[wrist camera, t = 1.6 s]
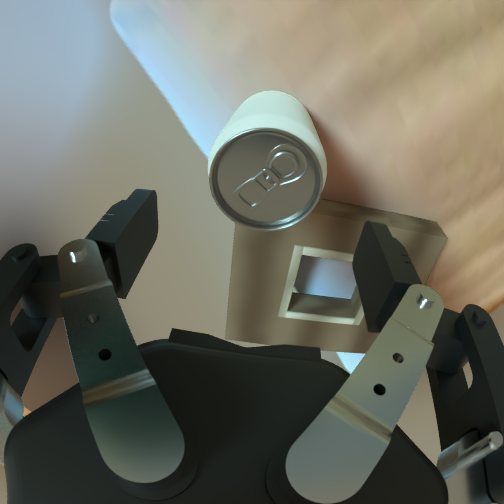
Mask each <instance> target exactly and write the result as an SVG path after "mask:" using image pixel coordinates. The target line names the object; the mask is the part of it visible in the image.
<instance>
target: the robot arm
mask: <svg viewBox="0 0 504 504" xmlns="http://www.w3.org/2000/svg"><path fill="white" fill-rule="evenodd" d="M157 234H158V211H157V195H156V192H155V190H145V189H136V190H135V191H134V192H133V193H132V194H131V195H130V196H129V197H128V199H127V200H121V201H120V202H118V203H116V204H114V205H113V206H112V207H111V208H110V209H109V210H108V211H107V212H106V215H104V216H103V217H102V218H101V221H99V222H98V223H97V224H96V225H95V227H94V228H93V229H92V230H91V231H90V233H89V234H88V235H87V237H86V238H85V239H76V240H73V241H70V242H68V243H66V244H65V245H64V246H63V247H61V248H60V250H59V252H58V254H57V255H49V256H39V253H38V250H37V248H36V246H35V245H33V244H29V243H25V244H20V245H17V246H15V247H13V248H11V249H10V250H9V251H8V252H7V253H6V254H5V255H4V256H3V257H2V259H1V260H0V464H1V465H3V466H4V468H5V474H6V482H7V504H504V345H503V343H502V341H501V339H500V336H499V334H498V331H497V329H496V327H495V325H494V322H493V320H492V318H491V317H490V315H489V314H488V313H487V312H486V311H485V310H484V309H483V308H481V307H479V306H477V305H474V304H468V305H466V306H465V308H464V309H463V310H462V312H461V313H457V312H454V311H452V310H449V309H446V308H444V303H443V300H442V298H441V297H440V296H439V294H438V293H437V292H436V291H434V290H433V289H431V288H430V287H428V286H425V285H423V284H422V282H421V280H420V278H419V276H418V274H417V272H416V269H415V267H414V265H413V264H412V261H411V259H410V257H408V256H409V255H408V253H407V251H406V249H405V247H404V246H403V245H402V244H401V243H400V242H399V241H398V240H397V239H396V238H393V237H392V235H391V233H390V231H389V229H388V227H387V225H386V224H384V223H379V222H374V221H366V223H365V224H364V227H363V230H362V233H361V236H360V238H359V241H358V244H357V247H356V250H355V253H354V256H353V271H354V275H355V279H356V283H357V287H358V291H359V295H360V299H361V303H362V307H363V311H364V316H365V320H366V324H367V329H368V332H371V333H380V334H379V335H378V337H377V338H376V340H375V341H374V343H373V344H372V346H371V347H370V349H369V350H368V351H367V353H366V354H365V356H364V357H363V359H362V360H361V361H360V363H359V364H358V366H357V367H356V368H355V370H354V371H353V372H352V374H351V375H350V374H349V373H348V372H347V371H345V370H344V369H342V368H341V367H339V366H337V365H335V364H333V363H331V362H329V361H326V360H324V359H321V352H320V347H308V346H298V345H288V344H281V345H271V346H261V347H248V348H247V347H242V346H239V345H236V344H233V343H231V342H228V341H225V340H222V339H219V338H217V337H214V336H211V335H209V334H204V333H197V332H192V331H186V330H180V329H174V328H172V330H171V333H170V336H169V339H160V340H154V341H150V342H146V343H143V344H140V345H138V346H137V345H136V342H135V340H134V338H133V335H132V333H131V331H130V328H129V326H128V323H127V321H126V319H125V316H124V314H123V311H122V309H121V306H120V303H119V301H118V298H122V299H126V297H127V295H128V292H129V291H130V289H131V287H132V285H133V283H134V281H135V279H136V277H137V275H138V273H139V271H140V269H141V267H142V265H143V264H144V262H145V260H146V258H147V256H148V254H149V252H150V250H151V249H152V247H153V245H154V243H155V241H156V238H157ZM18 301H20V303H21V306H22V309H21V310H20V312H19V314H18V315H17V317H16V319H15V320H14V322H13V324H12V326H11V325H10V317H11V313H12V311H13V310H14V308H15V306H16V304H17V303H18ZM58 317H63V318H64V323H65V328H66V333H67V337H68V342H69V346H70V350H71V355H72V358H73V362H74V366H75V370H76V373H77V377H78V381H79V383H77V384H76V385H74V386H72V387H71V388H69V389H68V390H66V391H65V392H63V393H62V394H60V395H58V396H57V397H55V398H54V399H52V400H50V401H49V402H48V403H46V404H44V405H42V406H41V407H39V408H38V409H36V410H35V411H33V412H31V413H30V414H28V415H26V416H25V417H24V416H23V412H24V405H23V401H22V398H21V396H22V393H23V391H24V389H25V386H26V384H27V382H28V379H29V377H30V374H31V372H32V370H33V368H34V366H35V363H36V361H37V359H38V357H39V354H40V352H41V350H42V348H43V346H44V344H45V342H46V340H47V338H48V336H49V334H50V332H51V330H52V328H53V326H54V324H55V322H56V320H57V318H58ZM468 361H469V364H470V367H471V370H472V374H473V381H472V385H471V387H470V388H469V389H468V385H467V382H466V378H465V375H464V371H463V367H464V365H465V364H466V363H467V362H468ZM425 366H426V369H427V373H428V378H429V382H430V387H431V392H432V397H433V402H434V407H435V413H436V419H437V424H438V431H439V438H440V445H441V454H440V455H439V457H438V460H437V467H436V466H435V465H434V464H433V463H432V462H431V461H430V460H429V459H428V458H427V457H426V455H425V454H424V453H423V452H422V451H421V450H420V449H419V448H418V447H417V446H416V445H415V444H414V442H413V441H412V440H411V439H410V438H409V437H408V436H407V435H406V434H405V433H404V432H403V431H402V430H401V428H400V427H399V426H398V425H397V422H398V421H399V419H400V417H401V415H402V413H403V411H404V409H405V407H406V405H407V404H408V402H409V399H410V397H411V396H412V394H413V391H414V390H415V387H416V385H417V383H418V381H419V379H420V377H421V375H422V372H423V370H424V368H425Z"/></svg>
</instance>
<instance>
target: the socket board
mask: <svg viewBox="0 0 504 504" xmlns="http://www.w3.org/2000/svg"><path fill="white" fill-rule="evenodd" d="M366 221H374V222H379V223H384V224H386V225H387V227H388V229H389V231H390V233H391V235H392V237H393V238H396V239H397V240H398V241H399V242H400V243H401V244H402V245H403V246H404V247H405V249H406V251H407V253H408V255H409V256H408V257H410V259H411V261H412V264H413V265H414V267H415V269H416V272H417V274H418V276H419V278H420V280H421V282H422V284H423V285H424V284H425V283H426V281H427V279H428V277H429V275H430V273H431V271H432V269H433V267H434V265H435V263H436V261H437V259H438V257H439V255H440V253H441V251H442V249H443V247H444V245H445V243H446V241H447V239H448V238H447V237H446V235H445V234H444V232H443V231H442V229H441V228H440V226H439V225H438V224H437V222H434V221H430V220H425V219H421V218H416V217H412V216H407V215H402V214H397V213H393V212H388V211H383V210H378V209H372V208H367V207H362V206H357V205H351V204H346V203H340V202H334V201H329V200H323V199H319V201H318V203H317V205H316V207H315V208H314V210H313V211H312V212H311V213H310V214H309V215H308V216H307V217H306V218H305V219H304V220H302V221H301V222H299V223H298V224H296V225H294V226H292V227H289V228H286V229H283V230H278V231H257V230H252V229H249V228H246V227H243V226H241V225H239V224H237V223H235V232H234V243H233V254H232V264H231V276H230V287H229V299H228V311H227V324H226V335H225V339H229V340H236V341H243V342H250V343H258V344H266V345H281V344H288V345H298V346H308V347H320V350H323V351H335V352H349V353H367V351H368V350H369V349H370V347H371V346H372V344H373V343H374V341H375V340H376V338H377V337H378V335H379V334H380V333H371V332H368V329H367V324H366V320H365V316H364V311H363V307H362V303H361V299H360V295H359V291H358V287H357V286H356V288H355V291H354V293H353V295H352V298H351V299H342V298H334V297H325V296H317V295H309V294H301V293H293V292H292V291H293V287H294V284H295V280H296V276H297V272H298V268H299V264H300V260H301V256H302V255H307V256H314V257H321V258H328V259H335V260H342V261H349V262H353V256H354V253H355V250H356V247H357V244H358V241H359V238H360V236H361V233H362V230H363V227H364V224H365V223H366Z"/></svg>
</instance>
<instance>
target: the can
mask: <svg viewBox="0 0 504 504" xmlns="http://www.w3.org/2000/svg"><path fill="white" fill-rule="evenodd" d="M208 174H209V183H210V189H211V193H212V196H213V198H214V200H215V202H216V204H217V206H218V207H219V208H220V209H221V211H222V212H223V213H224V214H225V215H226V216H227V217H228V218H230V219H231V220H232V221H234V222H235V223H237V224H239V225H241V226H243V227H246V228H249V229H252V230H257V231H278V230H283V229H286V228H289V227H292V226H294V225H296V224H298V223H299V222H301V221H302V220H304V219H305V218H306V217H307V216H308V215H309V214H310V213H311V212H312V211H313V210H314V208H315V207H316V205H317V203H318V201H319V199H320V196H321V193H322V190H323V188H324V185H325V182H326V176H327V162H326V157H325V153H324V150H323V147H322V144H321V141H320V139H319V136H318V134H317V131H316V129H315V127H314V124H313V122H312V120H311V117H310V115H309V113H308V111H307V110H306V108H305V107H304V106H303V105H302V104H301V103H300V102H299V101H298V100H297V99H295V98H294V97H292V96H291V95H289V94H286V93H284V92H280V91H264V92H260V93H257V94H254V95H252V96H251V97H249V98H248V99H246V100H245V101H244V102H243V103H242V104H241V105H240V106H239V108H238V109H237V110H236V112H235V113H234V114H233V115H232V117H231V118H230V119H229V121H228V122H227V124H226V125H225V126H224V128H223V129H222V131H221V132H220V134H219V135H218V137H217V138H216V140H215V142H214V144H213V146H212V149H211V152H210V155H209V160H208Z"/></svg>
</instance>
